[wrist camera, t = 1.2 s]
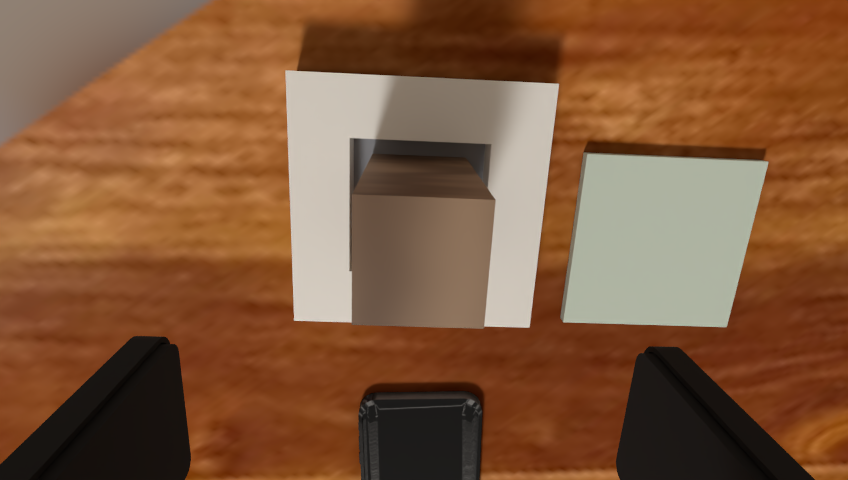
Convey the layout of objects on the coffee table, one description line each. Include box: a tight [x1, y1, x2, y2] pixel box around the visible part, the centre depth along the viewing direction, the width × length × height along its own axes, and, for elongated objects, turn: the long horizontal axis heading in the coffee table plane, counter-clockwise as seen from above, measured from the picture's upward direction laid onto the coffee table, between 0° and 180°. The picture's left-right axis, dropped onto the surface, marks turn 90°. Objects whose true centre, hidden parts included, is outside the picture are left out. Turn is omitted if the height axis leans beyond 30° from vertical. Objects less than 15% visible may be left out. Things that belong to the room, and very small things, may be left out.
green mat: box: [560, 152, 768, 327], centre depth 29 cm, size 10×10×1 cm
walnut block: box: [352, 154, 496, 329], centre depth 23 cm, size 5×5×10 cm
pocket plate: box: [285, 70, 559, 328], centre depth 27 cm, size 13×13×2 cm
